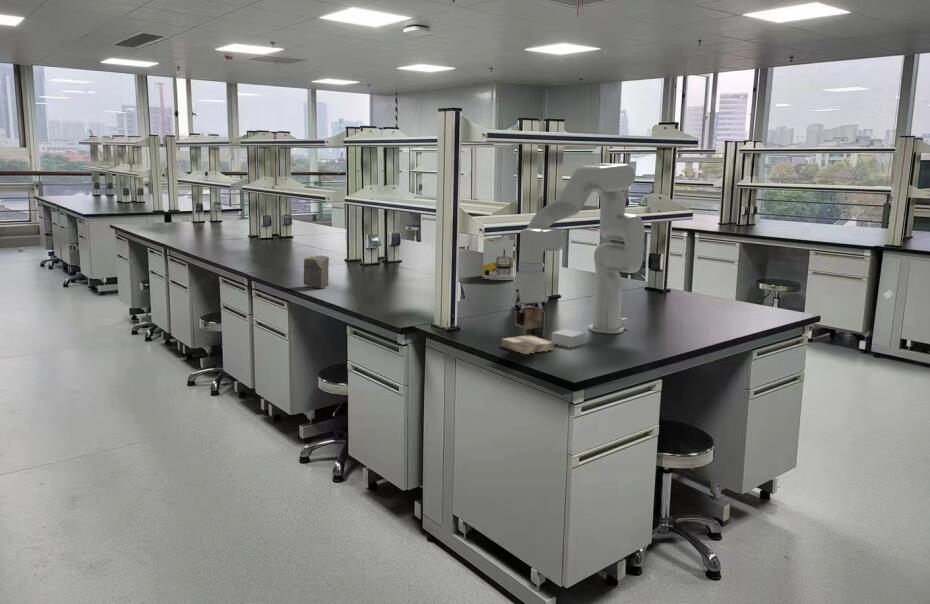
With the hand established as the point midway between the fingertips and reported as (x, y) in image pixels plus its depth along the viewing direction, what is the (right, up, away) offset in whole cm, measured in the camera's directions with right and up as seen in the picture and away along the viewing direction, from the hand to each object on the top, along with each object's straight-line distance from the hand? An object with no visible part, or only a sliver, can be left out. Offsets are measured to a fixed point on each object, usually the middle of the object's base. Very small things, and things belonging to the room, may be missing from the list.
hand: (528, 322), depth 226 cm
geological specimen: (-90, +13, +105) cm, 139 cm away
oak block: (0, -9, +2) cm, 9 cm away
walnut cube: (0, -1, 0) cm, 1 cm away
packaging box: (-3, +19, +147) cm, 148 cm away
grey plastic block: (+14, -8, +9) cm, 18 cm away
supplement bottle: (+4, -5, +19) cm, 20 cm away
